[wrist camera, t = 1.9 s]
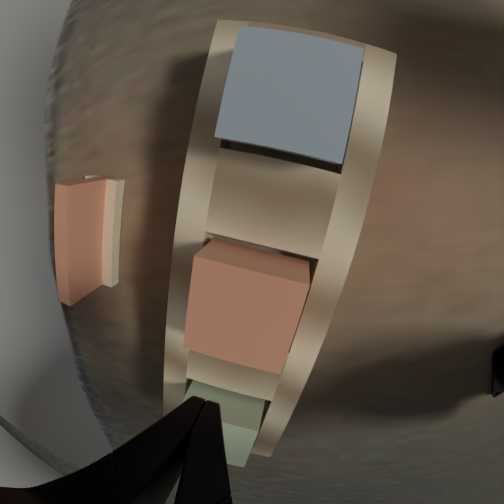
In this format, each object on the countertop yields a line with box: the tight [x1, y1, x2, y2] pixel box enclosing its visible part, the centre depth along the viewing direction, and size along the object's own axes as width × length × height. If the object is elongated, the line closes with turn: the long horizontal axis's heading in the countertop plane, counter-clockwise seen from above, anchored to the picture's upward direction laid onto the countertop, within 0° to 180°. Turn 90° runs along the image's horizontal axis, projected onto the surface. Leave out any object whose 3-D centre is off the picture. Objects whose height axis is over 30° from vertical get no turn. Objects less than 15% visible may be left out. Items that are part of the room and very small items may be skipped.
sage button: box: [181, 380, 265, 467], centre depth 18 cm, size 5×5×3 cm
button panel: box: [163, 20, 397, 457], centre depth 17 cm, size 28×9×4 cm, turn 168°
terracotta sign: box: [54, 175, 125, 306], centre depth 18 cm, size 8×3×5 cm, turn 168°
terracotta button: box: [183, 238, 310, 374], centre depth 15 cm, size 5×5×3 cm
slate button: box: [214, 26, 364, 164], centre depth 11 cm, size 5×5×3 cm
